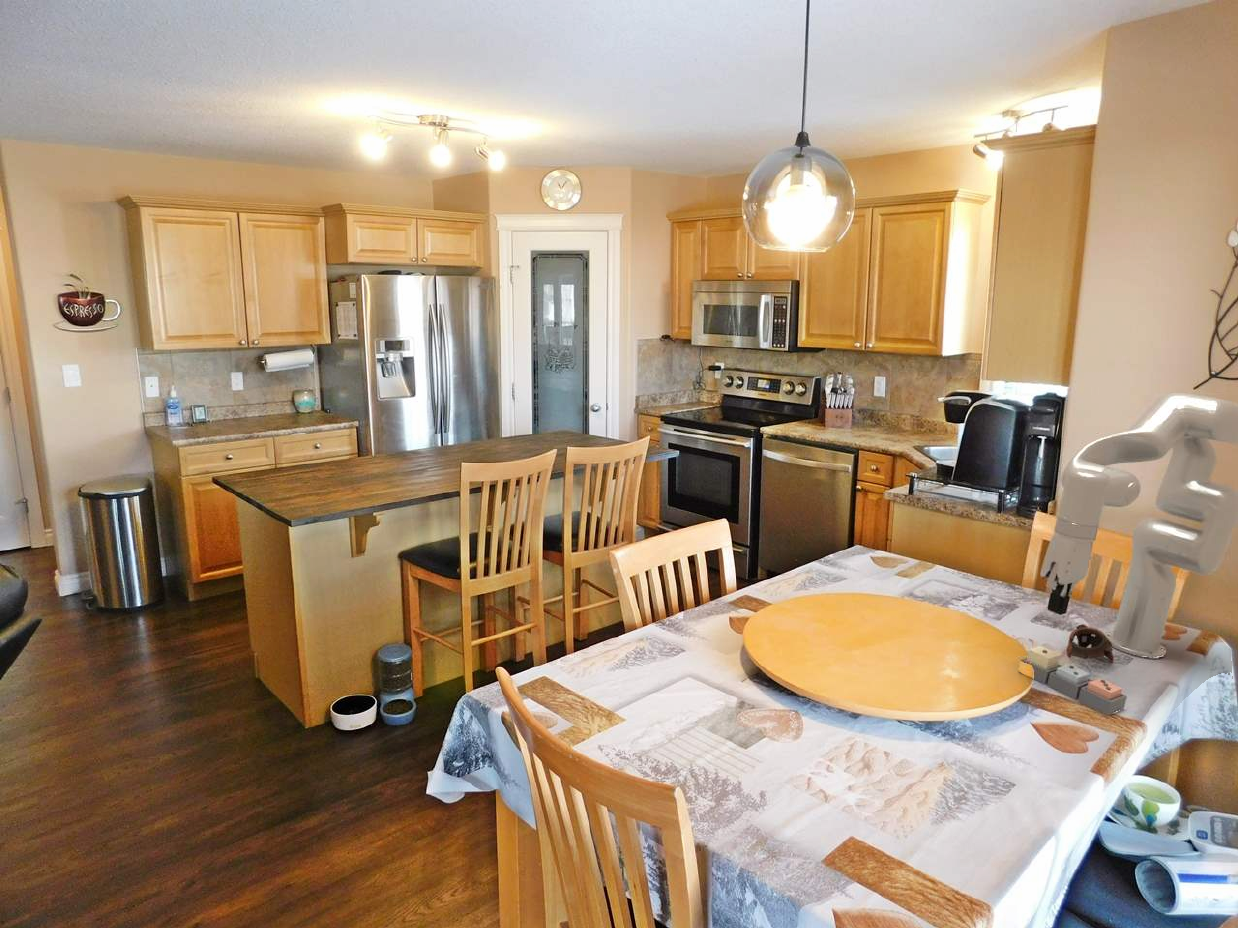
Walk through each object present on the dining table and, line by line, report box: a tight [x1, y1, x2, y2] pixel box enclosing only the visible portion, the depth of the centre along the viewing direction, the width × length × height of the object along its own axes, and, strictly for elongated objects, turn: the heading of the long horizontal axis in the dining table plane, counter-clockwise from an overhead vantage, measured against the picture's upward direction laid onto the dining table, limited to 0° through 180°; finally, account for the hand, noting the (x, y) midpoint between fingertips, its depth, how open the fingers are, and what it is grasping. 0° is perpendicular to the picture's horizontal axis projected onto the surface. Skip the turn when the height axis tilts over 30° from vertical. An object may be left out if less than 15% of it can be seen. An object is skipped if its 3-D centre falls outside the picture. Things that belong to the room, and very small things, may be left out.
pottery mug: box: [1065, 624, 1115, 665], centre depth 184 cm, size 12×10×8 cm
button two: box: [1056, 663, 1091, 685], centre depth 167 cm, size 4×4×4 cm
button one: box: [1026, 645, 1061, 670], centre depth 172 cm, size 4×4×4 cm
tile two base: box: [1046, 671, 1094, 701], centre depth 168 cm, size 6×6×3 cm
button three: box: [1087, 678, 1123, 700], centre depth 162 cm, size 4×4×4 cm
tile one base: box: [1020, 656, 1063, 686], centre depth 173 cm, size 6×6×3 cm
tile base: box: [1077, 685, 1128, 716], centre depth 162 cm, size 6×6×3 cm
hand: (1056, 611), depth 169 cm, fingers closed
